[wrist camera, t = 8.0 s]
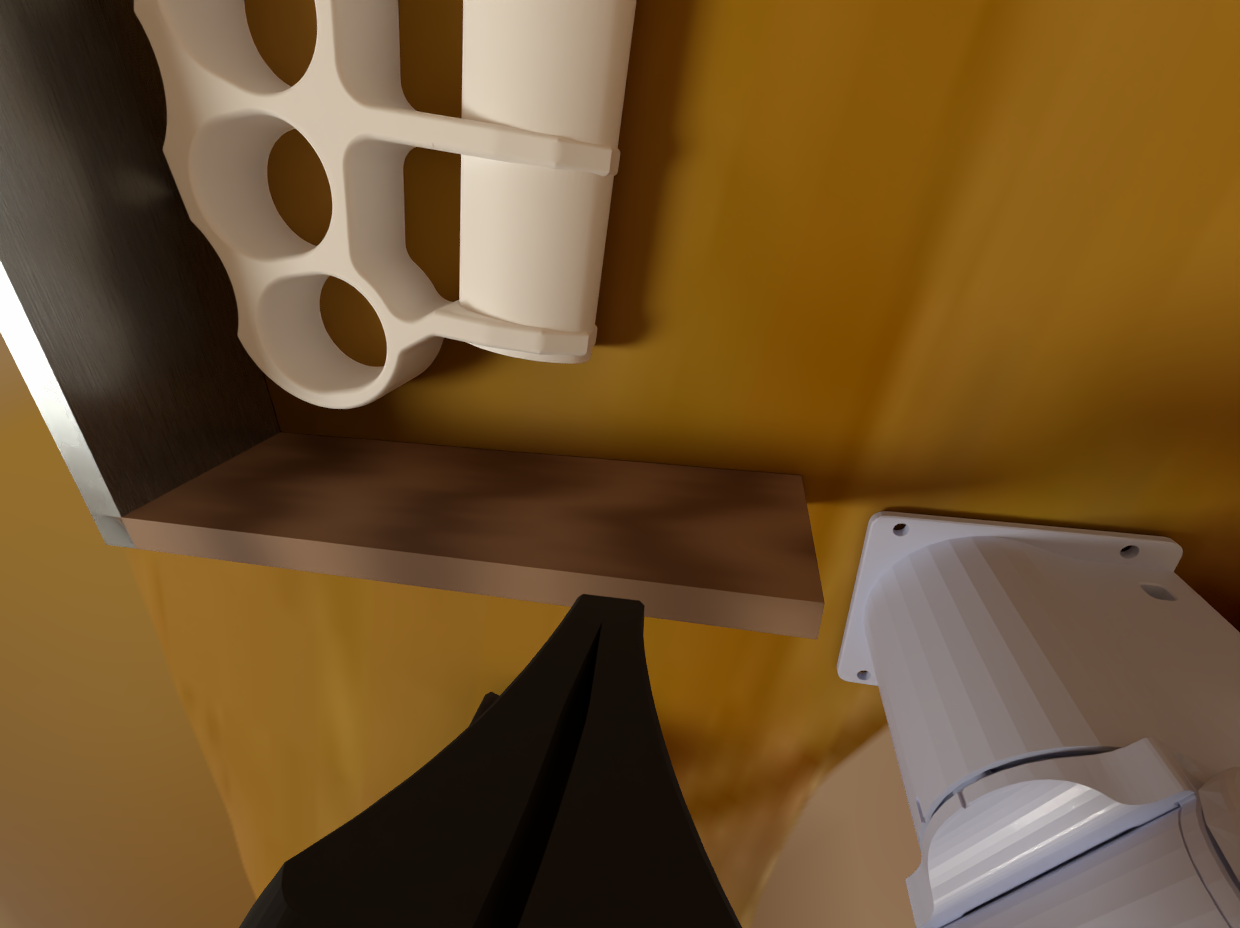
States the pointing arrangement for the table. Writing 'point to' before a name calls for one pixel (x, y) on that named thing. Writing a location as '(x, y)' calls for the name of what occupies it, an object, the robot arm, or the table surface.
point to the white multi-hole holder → (402, 179)
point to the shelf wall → (507, 527)
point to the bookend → (112, 266)
